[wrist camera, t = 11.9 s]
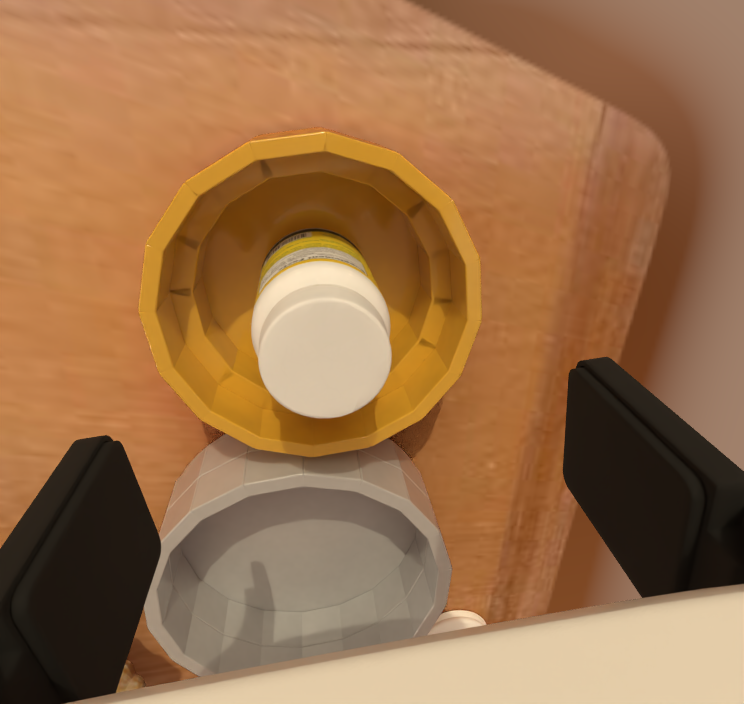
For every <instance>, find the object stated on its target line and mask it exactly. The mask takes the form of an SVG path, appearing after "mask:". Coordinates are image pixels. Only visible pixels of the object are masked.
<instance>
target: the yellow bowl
mask: <svg viewBox="0 0 744 704" xmlns="http://www.w3.org/2000/svg"><path fill="white" fill-rule="evenodd" d="M307 228H322V229H327V230H331V231H334V232H337V233H339V234H341V235H342V236H344V237H346V238H347V239H348V240H350V241H351V242H352V243H353V244H354V245H355V246H356V247H357V248H358V250H359V251H360V252H361V254H362V256H363V257H364V259H365V261H366V263H367V265H368V267H369V269H370V271H371V273H372V276H373V278H374V279H375V281H376V283H377V286H378V288H379V290H380V292H381V293H382V295H383V298H384V300H385V302H386V305H387V308H388V312H389V317H390V337H389V340H390V345H391V352H392V361H391V368H390V372H389V375H388V378H387V380H386V382H385V384H384V386H383V387H382V389H381V390H380V392H379V393H378V394H377V395H376V396H375V397H374V398H373V399H372V400H371V401H370V402H369V403H368V404H366V405H365V406H364V407H362V408H361V409H359V410H357V411H355V412H353V413H350V414H347V415H344V416H341V417H336V418H322V419H320V418H312V417H307V416H303V415H300V414H297V413H295V412H293V411H291V410H289V409H287V408H286V407H284V406H283V405H281V404H280V403H279V402H278V401H277V400H276V399H275V398H274V397H273V396H272V395H271V394H270V393H269V391H268V390H267V388H266V386H265V385H264V383H263V380H262V378H261V375H260V371H259V365H258V357H257V355H256V353H255V350H254V346H253V343H252V337H251V324H252V316H253V310H254V305H255V300H256V295H257V291H258V285H259V280H260V274H261V269H262V265H263V262H264V260H265V258H266V256H267V254H268V253H269V251H270V250H271V248H272V247H273V246H274V245H275V244H276V243H277V242H278V241H279V240H280V239H282V238H283V237H285V236H286V235H288V234H290V233H292V232H295V231H298V230H301V229H307ZM138 311H139V316H140V319H141V322H142V325H143V328H144V331H145V334H146V337H147V340H148V343H149V346H150V349H151V352H152V355H153V358H154V361H155V364H156V367H157V370H158V372H159V374H160V375H161V376H162V378H163V379H164V380H165V381H166V382H167V383H168V384H169V386H170V387H171V388H172V389H173V390H174V391H175V392H176V393H177V395H178V396H179V397H180V398H181V399H182V400H183V401H184V402H185V404H186V405H187V406H188V407H189V408H190V409H191V410H192V412H193V413H194V414H195V415H196V416H197V417H198V418H199V419H201V421H203V422H205V423H206V424H208V425H210V426H212V427H214V428H216V429H218V430H220V431H222V432H224V433H225V434H227V435H229V436H231V437H233V438H235V439H237V440H239V441H241V442H243V443H244V444H246V445H248V446H250V447H252V448H255V449H259V450H265V451H272V452H279V453H286V454H292V455H299V456H306V457H318V456H324V455H330V454H335V453H341V452H347V451H352V450H358V449H364V448H369V447H370V446H371V447H372V446H374V445H376V444H378V443H380V442H381V441H383V440H385V439H387V438H389V437H391V436H392V435H394V434H396V433H398V432H400V431H402V430H403V429H405V428H407V427H409V426H411V425H413V424H414V423H416V422H418V421H420V420H421V419H423V418H424V417H425V416H426V415H427V413H428V412H429V411H430V410H431V409H432V408H433V407H434V406H435V404H436V403H437V402H438V401H439V400H440V399H441V398H442V397H443V396H444V394H445V393H446V392H447V391H448V390H449V389H450V388H451V387H452V386H453V384H454V383H455V382H456V381H457V380H458V379H459V378H460V375H461V374H462V372H463V369H464V366H465V364H466V361H467V359H468V356H469V353H470V351H471V348H472V346H473V343H474V340H475V338H476V335H477V333H478V330H479V327H480V325H481V320H482V300H481V261H480V257H479V254H478V252H477V250H476V248H475V246H474V244H473V242H472V239H471V237H470V235H469V233H468V231H467V229H466V227H465V225H464V222H463V220H462V218H461V216H460V214H459V212H458V210H457V207H456V205H455V203H454V201H453V200H452V199H451V197H449V196H448V195H447V194H446V193H445V192H444V191H442V190H441V189H440V188H439V187H438V186H437V185H435V184H434V183H433V182H432V181H431V180H430V179H429V178H427V177H426V176H425V175H424V174H423V173H422V172H420V171H419V170H418V169H417V168H416V167H415V166H413V165H412V164H411V163H410V162H409V161H408V160H406V159H405V158H404V157H403V156H402V155H401V154H399V153H397V152H395V151H393V150H391V149H388V148H386V147H383V146H381V145H379V144H376V143H372V142H369V141H366V140H362V139H359V138H356V137H352V136H349V135H346V134H342V133H339V132H336V131H332V130H329V129H326V128H322V127H314V128H307V129H299V130H292V131H284V132H276V133H269V134H261V135H258V136H255V137H254V138H252V139H251V140H249V141H247V142H246V143H244V144H243V145H241V146H240V147H238V148H236V149H235V150H233V151H232V152H230V153H228V154H227V155H225V156H224V157H222V158H221V159H219V160H217V161H216V162H214V163H213V164H211V165H209V166H208V167H206V168H205V169H203V170H202V171H200V172H199V173H197V174H196V175H194V176H193V177H191V178H189V179H188V180H186V181H185V183H183V184H182V186H181V188H180V189H179V191H178V192H177V194H176V195H175V197H174V199H173V200H172V202H171V203H170V205H169V207H168V208H167V210H166V211H165V213H164V215H163V216H162V218H161V219H160V221H159V223H158V224H157V226H156V227H155V229H154V230H153V232H152V234H151V235H150V237H149V238H148V240H147V242H146V245H145V251H144V260H143V269H142V278H141V287H140V296H139V305H138Z"/></svg>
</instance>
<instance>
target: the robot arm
mask: <svg viewBox="0 0 744 704" xmlns="http://www.w3.org/2000/svg"><path fill="white" fill-rule="evenodd" d="M563 475H564V479H565V482H566V485H567V487H568V488H569V490H570V491H571V493H572V494H573V496H574V497H575V499H576V500H577V502H578V503H579V505H580V506H581V508H582V509H583V511H584V512H585V513H586V515H587V517H588V518H589V520H590V521H591V523H592V524H593V525H594V527H595V528H596V530H597V531H598V533H599V534H600V536H601V537H602V539H603V540H604V542H605V543H606V545H607V546H608V548H609V549H610V551H611V552H612V554H613V555H614V557H615V558H616V560H617V561H618V563H619V564H620V566H621V567H622V569H623V570H624V572H625V573H626V574H627V576H628V577H629V579H630V580H631V582H632V583H633V585H634V586H635V588H636V589H637V591H638V592H639V594H640V595H641V597H642V598H640V599H633V600H627V601H621V602H614V603H609V604H603V605H597V606H592V607H586V608H580V609H575V610H568V611H563V612H557V613H551V614H546V615H540V616H534V617H528V618H523V619H517V620H511V621H505V622H500V623H494V624H488V625H483V626H477V627H471V628H466V629H460V630H454V631H449V632H443V633H438V634H432V635H427V636H421V637H415V638H410V639H404V640H399V641H393V642H388V643H382V644H377V645H371V646H366V647H360V648H355V649H349V650H344V651H338V652H333V653H327V654H322V655H316V656H311V657H305V658H299V659H294V660H289V661H283V662H278V663H272V664H267V665H262V666H256V667H251V668H246V669H240V670H235V671H230V672H224V673H219V674H214V675H208V676H203V677H197V678H192V679H187V680H181V681H176V682H171V683H165V684H160V685H155V686H149V687H144V688H138V689H134V690H129V691H124V692H119V693H116V690H117V687H118V684H119V681H120V678H121V675H122V672H123V669H124V666H125V663H126V660H127V657H128V654H129V651H130V647H131V644H132V641H133V638H134V635H135V632H136V629H137V626H138V623H139V620H140V617H141V614H142V611H143V608H144V604H145V601H146V598H147V595H148V592H149V589H150V586H151V583H152V580H153V577H154V574H155V571H156V568H157V565H158V562H159V558H160V555H161V540H160V537H159V534H158V532H157V529H156V527H155V524H154V522H153V519H152V517H151V514H150V512H149V509H148V507H147V504H146V502H145V499H144V497H143V494H142V492H141V489H140V487H139V484H138V482H137V479H136V477H135V474H134V472H133V469H132V467H131V465H130V462H129V460H128V457H127V455H126V452H125V450H124V447H123V445H122V444H121V442H120V441H113V440H112V439H111V438H110V436H107V435H105V436H98V437H92V438H85V439H79V440H76V441H75V442H74V443H73V444H72V446H71V447H70V448H69V450H68V451H67V453H66V454H65V456H64V457H63V459H62V460H61V462H60V463H59V464H58V466H57V467H56V469H55V470H54V472H53V473H52V475H51V476H50V477H49V479H48V480H47V482H46V483H45V485H44V486H43V488H42V489H41V491H40V492H39V493H38V495H37V496H36V498H35V499H34V501H33V502H32V504H31V505H30V507H29V508H28V509H27V511H26V512H25V514H24V515H23V517H22V518H21V520H20V521H19V522H18V524H17V525H16V527H15V528H14V530H13V531H12V533H11V534H10V536H9V537H8V538H7V540H6V541H5V543H4V544H3V546H2V547H1V549H0V704H744V471H742V470H741V469H740V468H739V467H738V466H737V465H736V464H734V463H733V462H732V461H731V460H730V459H729V458H727V457H726V456H725V455H724V454H723V453H721V452H720V451H719V450H718V449H717V448H715V447H714V446H713V445H712V444H711V443H710V442H708V441H707V440H706V439H705V438H704V437H703V436H701V435H700V434H699V433H698V432H697V431H695V430H694V429H693V428H692V427H691V426H690V425H688V424H687V423H686V422H685V421H684V420H683V419H681V418H680V417H679V416H678V415H676V414H675V413H674V412H673V411H672V410H671V409H670V408H668V407H667V406H666V405H665V404H664V403H662V402H661V401H660V400H659V399H658V398H657V397H655V396H654V395H653V394H652V393H651V392H650V391H648V390H647V389H646V388H645V387H643V386H642V385H641V384H640V383H639V382H638V381H637V380H635V379H634V378H633V377H632V376H631V375H629V374H628V373H627V372H626V371H624V369H622V368H621V367H620V366H619V365H618V364H616V363H615V362H614V361H613V360H612V359H610V358H609V357H602V358H596V359H589V360H583V361H580V362H578V364H577V366H576V369H572V370H570V373H569V379H568V396H567V412H566V428H565V445H564V461H563Z"/></svg>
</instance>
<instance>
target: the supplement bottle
mask: <svg viewBox="0 0 744 704" xmlns="http://www.w3.org/2000/svg"><path fill="white" fill-rule="evenodd" d="M251 337H252V343H253V346H254V350H255V353H256V355H257V357H258V365H259V371H260V375H261V378H262V380H263V383H264V385H265V386H266V388H267V390H268V391H269V393H270V394H271V395H272V396H273V397H274V398H275V399H276V400H277V401H278V402H279V403H280V404H281V405H283V406H284V407H286V408H287V409H289V410H291V411H293V412H295V413H297V414H300V415H303V416H307V417H312V418H320V419H322V418H336V417H341V416H344V415H347V414H350V413H353V412H355V411H357V410H359V409H361V408H362V407H364V406H365V405H366V404H368V403H369V402H370V401H371V400H372V399H373V398H374V397H375V396H376V395H377V394H378V393H379V392H380V390H381V389H382V387H383V386H384V384H385V382H386V380H387V378H388V375H389V372H390V368H391V361H392V352H391V345H390V340H389V337H390V317H389V312H388V308H387V305H386V302H385V300H384V298H383V295H382V293H381V292H380V290H379V288H378V286H377V283H376V281H375V279H374V278H373V276H372V273H371V271H370V269H369V267H368V265H367V263H366V261H365V259H364V257H363V256H362V254H361V252H360V251H359V250H358V248H357V247H356V246H355V245H354V244H353V243H352V242H351V241H350V240H348V239H347V238H346V237H344V236H342V235H341V234H339V233H337V232H334V231H331V230H327V229H322V228H307V229H301V230H298V231H295V232H292V233H290V234H288V235H286V236H285V237H283V238H282V239H280V240H279V241H278V242H277V243H276V244H275V245H274V246H273V247H272V248H271V250H270V251H269V253H268V254H267V256H266V258H265V260H264V262H263V265H262V269H261V274H260V280H259V285H258V291H257V295H256V300H255V305H254V310H253V316H252V324H251Z"/></svg>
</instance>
